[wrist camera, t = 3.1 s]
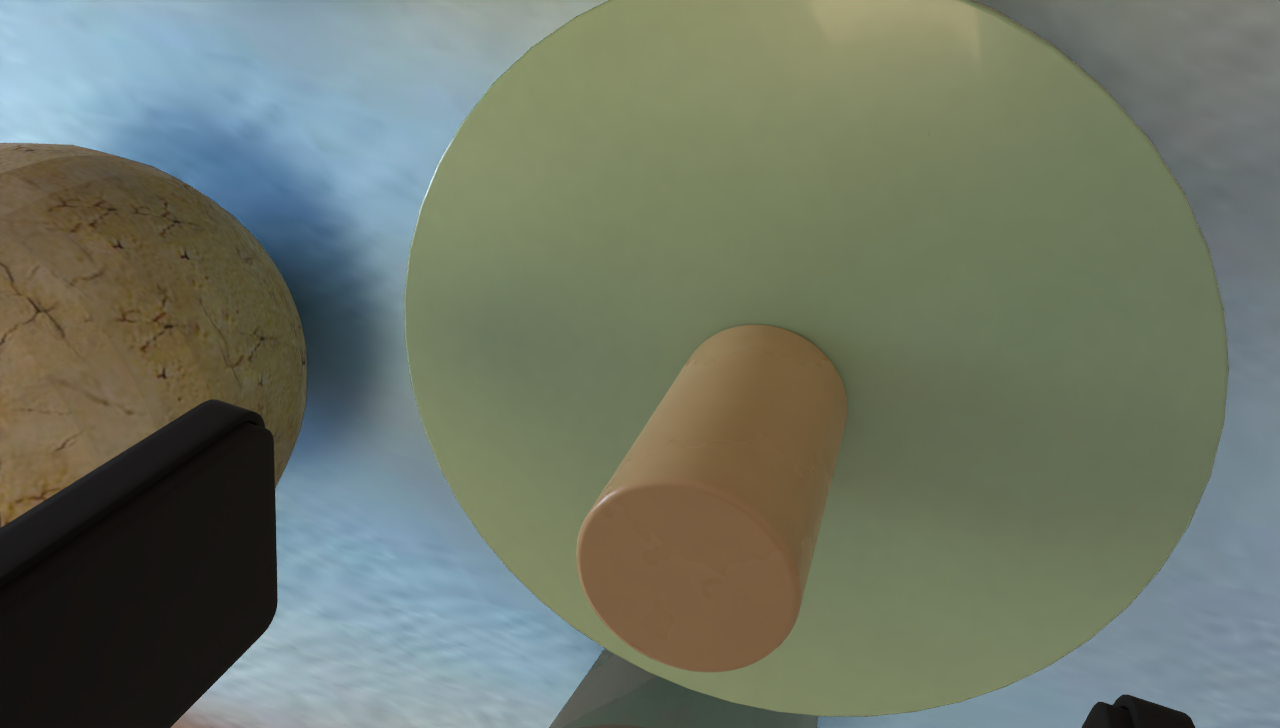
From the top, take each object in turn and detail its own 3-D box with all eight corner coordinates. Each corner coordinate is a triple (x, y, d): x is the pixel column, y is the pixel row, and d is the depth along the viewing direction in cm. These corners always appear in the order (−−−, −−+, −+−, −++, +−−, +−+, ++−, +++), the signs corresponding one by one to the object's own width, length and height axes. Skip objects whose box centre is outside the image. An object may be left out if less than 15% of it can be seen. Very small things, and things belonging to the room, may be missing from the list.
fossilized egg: (371, 517, 33) (-11, 890, 20) (76, 387, 35) (-442, 651, 22) (419, 183, 27) (-78, 409, 14) (60, 49, 29) (-660, 142, 16)
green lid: (1394, 65, 12) (1729, 167, 7) (1031, 769, 18) (1057, 1112, 13) (456, -114, 15) (172, -141, 9) (416, 552, 21) (229, 761, 16)
